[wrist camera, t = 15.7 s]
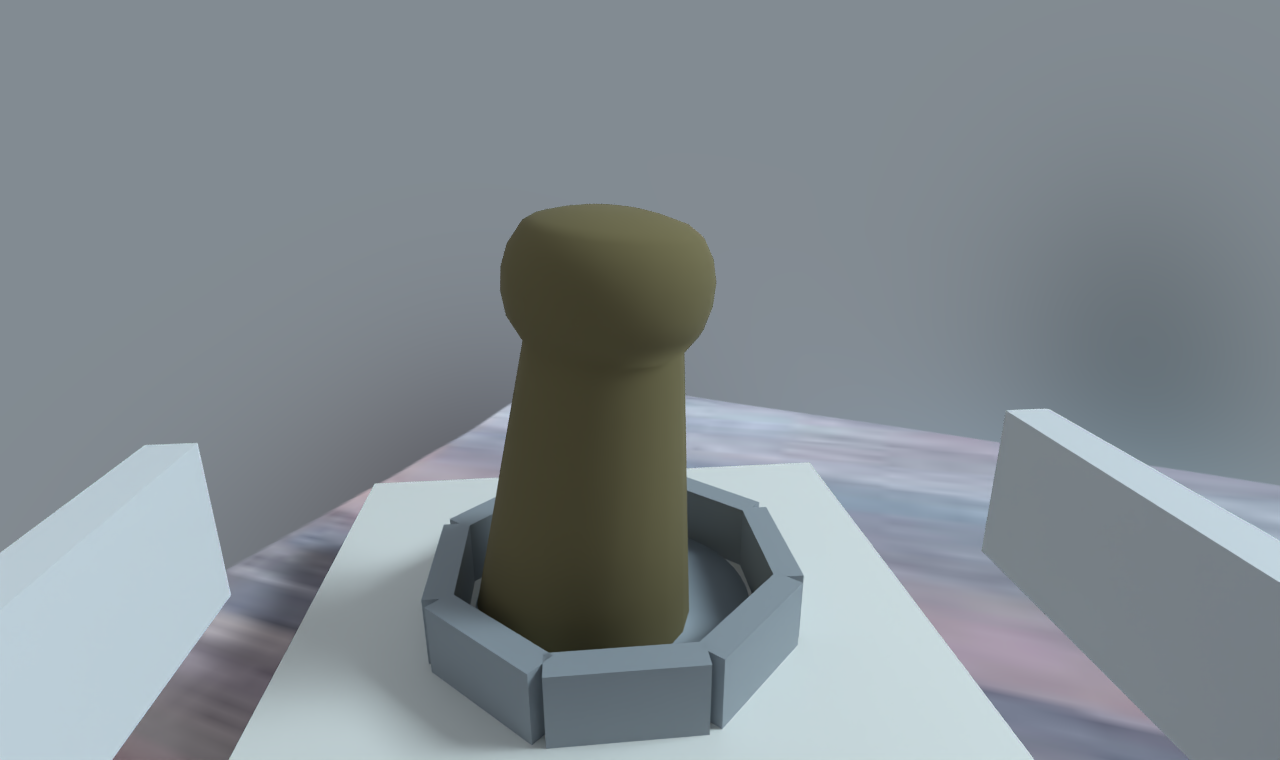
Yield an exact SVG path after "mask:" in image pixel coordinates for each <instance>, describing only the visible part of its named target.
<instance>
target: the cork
mask: <svg viewBox="0 0 1280 760" xmlns="http://www.w3.org/2000/svg"><path fill="white" fill-rule="evenodd" d="M500 279H501V280H500V291H501V296H502V300H503V304H504V309H505V313H506V316H507V318H508V319H509V320H510V322H511V324H512V325H513V327H514V328H515V330H516V331H517V333H518V334H519V336H520V337H521V339H522V340H523V341H522V347H521V353H520V359H519V364H518V371H517V376H516V382H515V388H514V393H513V399H512V405H511V411H510V417H509V422H508V428H507V434H506V440H505V446H504V451H503V457H502V463H501V469H500V475H499V480H498V486H497V492H496V498H495V504H494V509H493V515H492V521H491V527H490V533H489V538H488V544H487V550H486V556H485V561H484V567H483V573H482V579H481V585H480V590H479V596H478V602H477V606H478V609H479V610H480V611H481V612H483V613H484V614H486V615H488V616H489V617H491V618H493V619H494V620H496V621H498V622H499V623H501V624H503V625H504V626H506V627H507V628H509V629H511V630H512V631H514V632H516V633H517V634H519V635H521V636H522V637H524V638H526V639H527V640H529V641H530V642H532V643H534V644H535V645H537V646H539V647H540V648H542V649H544V650H545V651H547V652H549V653H552V652H566V651H579V650H593V649H607V648H621V647H634V646H648V645H662V644H672V643H673V642H674V641H675V640H676V639H677V638H678V637H679V636H680V635H681V633H682V632H683V630H684V626H685V623H686V620H687V616H688V613H689V578H688V524H687V471H686V417H685V366H684V353H685V352H686V350H687V349H688V348H689V347H690V346H691V345H692V344H693V343H694V341H695V340H696V339H697V338H698V337H699V335H700V334H701V333H702V331H703V330H704V327H705V325H706V322H707V320H708V317H709V315H710V312H711V310H712V307H713V301H714V294H715V288H716V276H715V268H714V260H713V257H712V255H711V253H710V250H709V248H708V246H707V244H706V241H705V239H704V238H703V237H702V236H701V234H699V233H698V232H697V231H696V230H695V229H693V228H692V227H691V226H690V225H688V224H686V223H683V222H681V221H678V220H675V219H673V218H670V217H667V216H665V215H662V214H659V213H655V212H651V211H647V210H644V209H639V208H634V207H628V206H620V205H609V204H583V205H570V206H562V207H557V208H552V209H546V210H541V211H538V212H535V213H533V214H532V215H530V216H528V217H526V218H524V219H523V220H522V221H521V222H520V224H519V225H518V227H517V229H516V230H515V232H514V233H513V235H512V236H511V238H510V239H509V241H508V242H507V245H506V248H505V252H504V256H503V259H502V263H501V276H500Z"/></svg>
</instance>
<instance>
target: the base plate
mask: <svg viewBox="0 0 1280 760" xmlns="http://www.w3.org/2000/svg"><path fill="white" fill-rule="evenodd" d="M686 471H687V524H688V578H689V613H688V616H687V620H686V623H685V626H684V630H683V632H682V633H681V635H680V636H679V637H678V638H677V639H676V640H675V641H674V642H673V643H672V644H662V645H648V646H634V647H621V648H607V649H593V650H579V651H566V652H552V653H549V652H547V651H545V650H544V649H542V648H540V647H539V646H537V645H535V644H534V643H532V642H530V641H529V640H527V639H526V638H524V637H522V636H521V635H519V634H517V633H516V632H514V631H512V630H511V629H509V628H507V627H506V626H504V625H503V624H501V623H499V622H498V621H496V620H494V619H493V618H491V617H489V616H488V615H486V614H484V613H483V612H481V611H480V610H479V609H478V606H477V602H478V596H479V590H480V585H481V579H482V573H483V567H484V561H485V556H486V550H487V544H488V538H489V533H490V527H491V521H492V515H493V509H494V504H495V498H496V492H497V486H498V480H499V478H483V479H462V480H442V481H422V482H401V483H381V484H374V486H373V488H372V490H371V492H370V494H369V496H368V498H367V499H366V501H365V503H364V505H363V507H362V509H361V511H360V513H359V515H358V517H357V518H356V520H355V522H354V524H353V526H352V528H351V530H350V532H349V534H348V535H347V537H346V539H345V541H344V543H343V545H342V547H341V549H340V551H339V552H338V554H337V556H336V558H335V560H334V562H333V564H332V566H331V568H330V569H329V571H328V573H327V575H326V577H325V579H324V581H323V583H322V585H321V586H320V588H319V590H318V592H317V594H316V596H315V598H314V600H313V602H312V603H311V605H310V607H309V609H308V611H307V613H306V615H305V617H304V619H303V620H302V622H301V624H300V626H299V628H298V630H297V632H296V634H295V636H294V637H293V639H292V641H291V643H290V645H289V647H288V649H287V651H286V653H285V654H284V656H283V658H282V660H281V662H280V664H279V666H278V668H277V670H276V671H275V673H274V675H273V677H272V679H271V681H270V683H269V685H268V687H267V688H266V690H265V692H264V694H263V696H262V698H261V700H260V702H259V704H258V705H257V707H256V709H255V711H254V713H253V715H252V717H251V719H250V721H249V722H248V724H247V726H246V728H245V730H244V732H243V734H242V736H241V738H240V739H239V741H238V743H237V745H236V747H235V749H234V751H233V753H232V755H231V757H230V758H229V760H1034V759H1033V757H1032V756H1031V755H1030V753H1029V752H1028V751H1027V749H1026V748H1025V747H1024V745H1023V744H1022V743H1021V741H1020V740H1019V739H1018V738H1017V736H1016V735H1015V734H1014V732H1013V731H1012V730H1011V728H1010V727H1009V726H1008V724H1007V723H1006V722H1005V720H1004V719H1003V718H1002V716H1001V715H1000V714H999V712H998V711H997V710H996V708H995V707H994V706H993V705H992V703H991V702H990V701H989V699H988V698H987V697H986V695H985V694H984V693H983V691H982V690H981V689H980V687H979V686H978V685H977V683H976V682H975V681H974V679H973V678H972V677H971V675H970V674H969V673H968V671H967V670H966V669H965V668H964V666H963V665H962V664H961V662H960V661H959V660H958V658H957V657H956V656H955V654H954V653H953V652H952V650H951V649H950V648H949V646H948V645H947V644H946V642H945V641H944V640H943V638H942V637H941V636H940V634H939V633H938V632H937V631H936V629H935V628H934V627H933V625H932V624H931V623H930V621H929V620H928V619H927V617H926V616H925V615H924V613H923V612H922V611H921V609H920V608H919V607H918V605H917V604H916V603H915V601H914V600H913V599H912V598H911V596H910V595H909V594H908V592H907V591H906V590H905V588H904V587H903V586H902V584H901V583H900V582H899V580H898V579H897V578H896V576H895V575H894V574H893V572H892V571H891V570H890V568H889V567H888V566H887V564H886V563H885V562H884V561H883V559H882V558H881V557H880V555H879V554H878V553H877V551H876V550H875V549H874V547H873V546H872V545H871V543H870V542H869V541H868V539H867V538H866V537H865V535H864V534H863V533H862V531H861V530H860V529H859V527H858V526H857V525H856V524H855V522H854V521H853V520H852V518H851V517H850V516H849V514H848V513H847V512H846V510H845V509H844V508H843V506H842V505H841V504H840V502H839V501H838V500H837V498H836V497H835V496H834V494H833V493H832V492H831V491H830V489H829V488H828V487H827V485H826V484H825V483H824V481H823V480H822V479H821V477H820V476H819V475H818V473H817V472H816V471H815V469H814V468H813V467H812V465H811V464H810V463H790V464H769V465H749V466H728V467H708V468H687V469H686Z"/></svg>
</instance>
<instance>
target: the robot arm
mask: <svg viewBox="0 0 1280 760" xmlns="http://www.w3.org/2000/svg"><path fill="white" fill-rule="evenodd" d="M982 552H983V553H984V554H985V555H986V556H987V557H988V558H989V559H990V560H991V561H992V562H993V563H994V564H995V565H996V566H997V567H998V568H999V569H1000V570H1001V571H1002V572H1003V573H1004V574H1005V575H1006V576H1007V577H1008V578H1009V579H1010V580H1011V581H1012V582H1013V583H1014V584H1015V585H1016V586H1017V587H1018V588H1019V589H1020V590H1021V591H1022V592H1023V593H1024V594H1025V595H1026V596H1027V597H1028V598H1029V599H1030V600H1031V601H1032V602H1033V603H1034V604H1035V605H1036V606H1037V607H1038V608H1039V609H1040V610H1041V611H1042V612H1043V613H1044V614H1045V615H1046V616H1047V617H1048V618H1049V619H1050V620H1051V621H1052V622H1053V623H1054V624H1055V625H1056V626H1057V627H1058V628H1059V629H1060V630H1061V631H1062V632H1063V633H1064V634H1065V635H1066V636H1067V637H1068V638H1069V639H1070V640H1071V641H1072V642H1073V643H1074V644H1075V645H1076V646H1077V647H1078V648H1079V649H1080V650H1081V651H1082V652H1083V653H1084V654H1085V655H1086V656H1087V657H1088V658H1089V659H1090V660H1091V661H1092V662H1093V663H1094V664H1095V665H1096V666H1097V667H1098V668H1099V669H1100V670H1101V671H1102V672H1103V673H1104V674H1105V675H1106V676H1107V677H1108V678H1109V679H1110V680H1111V681H1112V682H1113V683H1114V684H1115V685H1116V686H1117V687H1118V688H1119V689H1120V690H1121V691H1122V692H1123V693H1124V694H1125V695H1126V696H1127V697H1128V698H1129V699H1130V700H1131V701H1132V702H1133V703H1134V704H1135V705H1136V706H1137V707H1138V708H1139V709H1140V710H1141V711H1142V712H1143V713H1144V714H1145V715H1146V716H1147V717H1148V718H1149V719H1150V720H1151V721H1152V722H1153V723H1154V724H1155V725H1156V726H1157V727H1158V728H1159V729H1160V730H1161V731H1162V732H1163V733H1164V734H1165V735H1166V736H1167V737H1168V738H1169V739H1170V740H1171V741H1172V742H1173V743H1174V744H1175V745H1176V746H1177V747H1178V748H1179V749H1180V750H1181V751H1182V752H1183V753H1184V754H1185V755H1186V756H1187V757H1188V758H1189V759H1190V760H1280V541H1279V540H1278V539H1276V538H1274V537H1272V536H1271V535H1269V534H1267V533H1265V532H1264V531H1262V530H1260V529H1258V528H1257V527H1255V526H1253V525H1251V524H1250V523H1248V522H1246V521H1244V520H1243V519H1241V518H1239V517H1237V516H1236V515H1234V514H1232V513H1230V512H1229V511H1227V510H1225V509H1223V508H1222V507H1220V506H1218V505H1216V504H1215V503H1213V502H1211V501H1209V500H1208V499H1206V498H1204V497H1202V496H1201V495H1199V494H1197V493H1195V492H1194V491H1192V490H1190V489H1188V488H1187V487H1185V486H1183V485H1181V484H1180V483H1178V482H1176V481H1174V480H1172V479H1171V478H1169V477H1167V476H1165V475H1164V474H1162V473H1160V472H1158V471H1157V470H1155V469H1153V468H1151V467H1150V466H1148V465H1146V464H1144V463H1143V462H1141V461H1139V460H1137V459H1136V458H1134V457H1132V456H1130V455H1128V454H1127V453H1125V452H1123V451H1122V450H1120V449H1118V448H1116V447H1115V446H1113V445H1111V444H1109V443H1108V442H1106V441H1104V440H1102V439H1101V438H1099V437H1097V436H1095V435H1094V434H1092V433H1090V432H1088V431H1087V430H1085V429H1083V428H1081V427H1079V426H1078V425H1076V424H1074V423H1073V422H1071V421H1069V420H1067V419H1066V418H1064V417H1062V416H1060V415H1059V414H1057V413H1055V412H1053V411H1051V410H1050V409H1029V410H1006V413H1005V419H1004V425H1003V431H1002V436H1001V442H1000V448H999V453H998V459H997V465H996V471H995V476H994V482H993V488H992V494H991V499H990V505H989V511H988V517H987V522H986V528H985V534H984V540H983V545H982ZM230 596H231V593H230V589H229V584H228V580H227V575H226V570H225V566H224V561H223V557H222V553H221V548H220V544H219V539H218V534H217V530H216V525H215V520H214V516H213V511H212V507H211V503H210V498H209V493H208V489H207V484H206V480H205V475H204V471H203V466H202V461H201V457H200V453H199V448H198V443H187V444H162V445H144V446H143V447H142V448H141V449H139V450H138V451H136V452H135V453H134V454H132V455H131V456H130V457H129V458H127V459H126V460H124V461H123V462H122V463H120V464H119V465H118V466H116V467H115V468H114V469H112V470H111V471H110V472H108V473H107V474H105V475H104V476H103V477H101V478H100V479H99V480H98V481H96V482H95V483H94V484H92V485H91V486H90V487H88V488H87V489H85V490H84V491H83V492H81V493H80V494H79V495H77V496H76V497H75V498H73V499H72V500H71V501H69V502H68V503H67V504H65V505H64V506H63V507H61V508H60V509H58V510H57V511H56V512H54V513H53V514H52V515H50V516H49V517H48V518H46V519H45V520H44V521H42V522H41V523H40V524H38V525H37V526H36V527H34V528H33V529H32V530H30V531H29V532H28V533H26V534H25V535H24V536H22V537H21V538H20V539H18V540H17V541H15V542H14V543H13V544H11V545H10V546H9V547H8V548H6V549H5V550H4V551H2V552H1V553H0V760H112V759H113V758H114V757H115V755H116V754H117V752H118V751H119V750H120V748H121V747H122V745H123V744H124V743H125V741H126V740H127V739H128V737H129V736H130V734H131V733H132V732H133V730H134V729H135V727H136V726H137V725H138V723H139V722H140V720H141V719H142V718H143V716H144V715H145V714H146V712H147V711H148V709H149V708H150V707H151V705H152V704H153V702H154V701H155V700H156V698H157V697H158V696H159V694H160V693H161V691H162V690H163V689H164V687H165V686H166V684H167V683H168V682H169V680H170V679H171V678H172V676H173V675H174V673H175V672H176V671H177V669H178V668H179V666H180V665H181V664H182V662H183V661H184V660H185V658H186V657H187V655H188V654H189V653H190V651H191V650H192V648H193V647H194V646H195V644H196V643H197V641H198V640H199V639H200V637H201V636H202V635H203V633H204V632H205V630H206V629H207V628H208V626H209V625H210V623H211V622H212V621H213V619H214V618H215V617H216V615H217V614H218V612H219V611H220V610H221V608H222V607H223V605H224V604H225V603H226V601H227V600H228V599H229V597H230Z"/></svg>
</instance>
